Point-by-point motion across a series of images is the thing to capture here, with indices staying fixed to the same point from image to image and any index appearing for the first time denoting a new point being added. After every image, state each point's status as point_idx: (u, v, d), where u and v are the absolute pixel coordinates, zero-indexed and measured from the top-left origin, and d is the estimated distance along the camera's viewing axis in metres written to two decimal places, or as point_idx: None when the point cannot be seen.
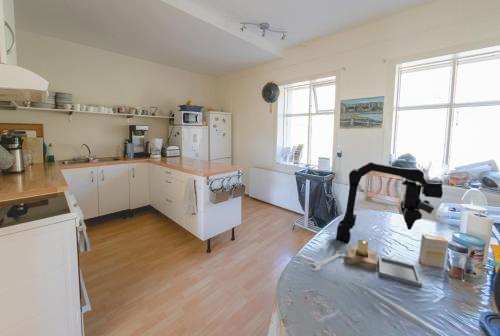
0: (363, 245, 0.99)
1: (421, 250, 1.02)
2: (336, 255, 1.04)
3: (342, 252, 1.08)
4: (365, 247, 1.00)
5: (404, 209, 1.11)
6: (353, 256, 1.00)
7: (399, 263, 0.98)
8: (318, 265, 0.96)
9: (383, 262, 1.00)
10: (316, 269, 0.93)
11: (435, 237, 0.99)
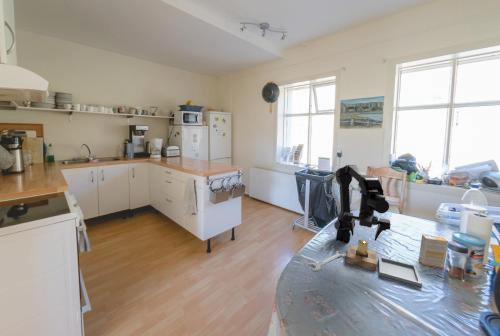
0: (363, 245, 0.99)
1: (421, 250, 1.02)
2: (336, 255, 1.04)
3: (342, 252, 1.08)
4: (365, 247, 1.00)
5: (378, 225, 0.99)
6: (353, 256, 1.00)
7: (399, 263, 0.98)
8: (318, 265, 0.96)
9: (383, 262, 1.00)
10: (316, 269, 0.94)
11: (435, 237, 0.99)
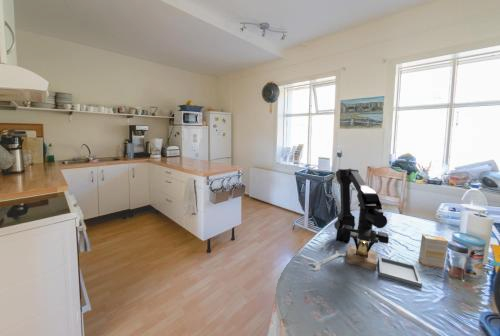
0: (363, 245, 0.99)
1: (421, 250, 1.02)
2: (335, 255, 1.05)
3: (341, 252, 1.09)
4: (365, 247, 1.00)
5: None
6: (353, 256, 1.00)
7: (399, 263, 0.98)
8: (318, 265, 0.96)
9: (383, 262, 1.00)
10: (316, 269, 0.94)
11: (435, 237, 0.99)
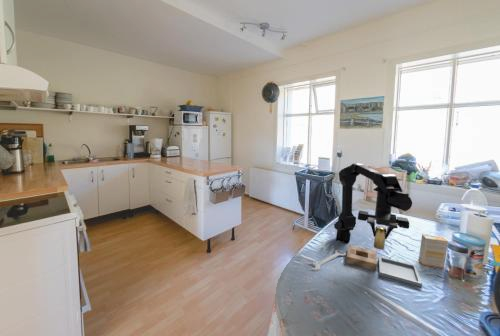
0: (381, 231, 0.94)
1: (421, 250, 1.02)
2: (335, 254, 1.05)
3: (341, 251, 1.09)
4: (383, 233, 0.94)
5: None
6: (353, 256, 1.00)
7: (399, 263, 0.98)
8: (317, 264, 0.97)
9: (383, 262, 1.00)
10: (316, 268, 0.94)
11: (435, 237, 0.99)
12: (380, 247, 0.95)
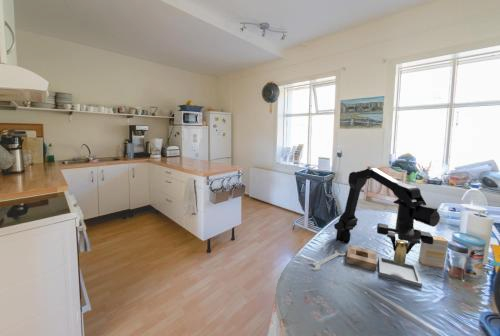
0: (403, 246, 0.90)
1: (421, 250, 1.02)
2: (335, 254, 1.05)
3: (341, 251, 1.09)
4: (405, 248, 0.90)
5: None
6: (353, 256, 1.00)
7: None
8: (317, 264, 0.97)
9: (383, 262, 1.00)
10: (315, 268, 0.94)
11: (435, 237, 0.99)
12: (401, 262, 0.91)
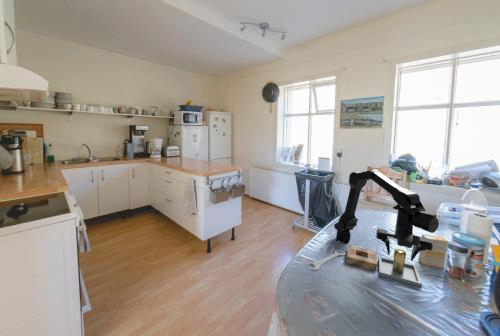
0: (401, 255, 0.90)
1: None
2: (335, 254, 1.05)
3: (340, 251, 1.09)
4: (403, 257, 0.90)
5: None
6: (353, 256, 1.00)
7: None
8: (317, 264, 0.97)
9: (383, 262, 1.00)
10: (315, 268, 0.94)
11: (435, 237, 0.99)
12: (399, 271, 0.91)
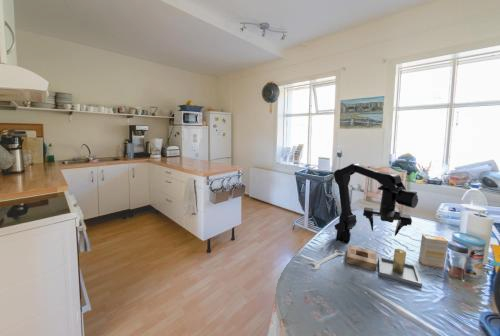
0: (401, 255, 0.90)
1: (421, 250, 1.02)
2: (334, 254, 1.05)
3: (340, 251, 1.09)
4: (403, 257, 0.90)
5: (398, 221, 1.01)
6: (353, 256, 1.00)
7: None
8: (317, 264, 0.97)
9: (383, 262, 1.00)
10: (315, 268, 0.94)
11: (435, 237, 0.99)
12: (399, 271, 0.91)
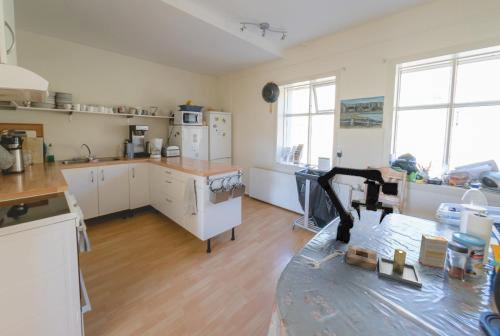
0: (401, 255, 0.90)
1: (421, 250, 1.02)
2: (334, 253, 1.06)
3: (340, 250, 1.10)
4: (403, 257, 0.90)
5: (382, 211, 1.12)
6: (353, 256, 1.00)
7: None
8: (317, 264, 0.97)
9: (383, 262, 1.00)
10: (315, 268, 0.94)
11: (435, 237, 0.99)
12: (399, 271, 0.91)
